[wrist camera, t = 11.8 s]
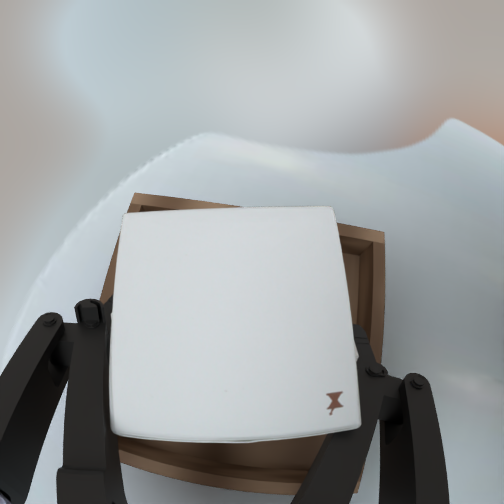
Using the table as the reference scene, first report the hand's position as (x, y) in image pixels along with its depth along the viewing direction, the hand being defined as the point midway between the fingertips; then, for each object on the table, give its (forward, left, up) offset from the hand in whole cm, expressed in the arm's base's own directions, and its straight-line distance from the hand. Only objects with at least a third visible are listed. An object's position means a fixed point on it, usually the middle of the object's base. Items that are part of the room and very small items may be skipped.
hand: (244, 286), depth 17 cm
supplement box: (0, +3, -4) cm, 6 cm away
